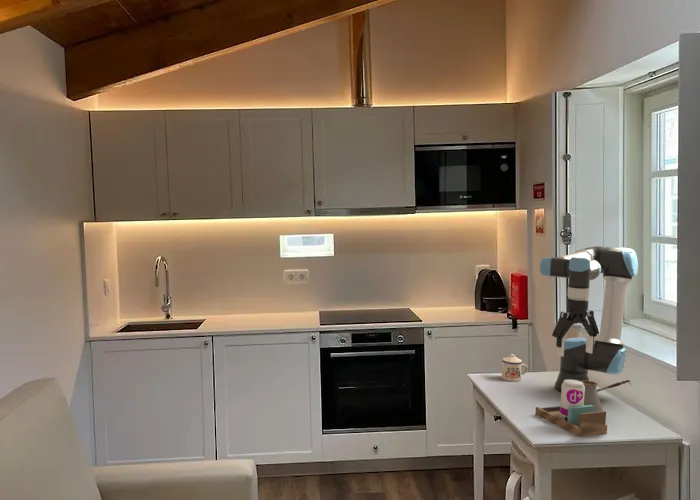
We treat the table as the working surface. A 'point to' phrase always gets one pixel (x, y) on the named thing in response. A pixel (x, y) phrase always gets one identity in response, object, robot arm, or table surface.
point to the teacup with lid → (512, 368)
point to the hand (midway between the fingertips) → (574, 354)
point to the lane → (587, 422)
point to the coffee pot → (592, 395)
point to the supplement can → (571, 396)
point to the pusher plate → (578, 413)
